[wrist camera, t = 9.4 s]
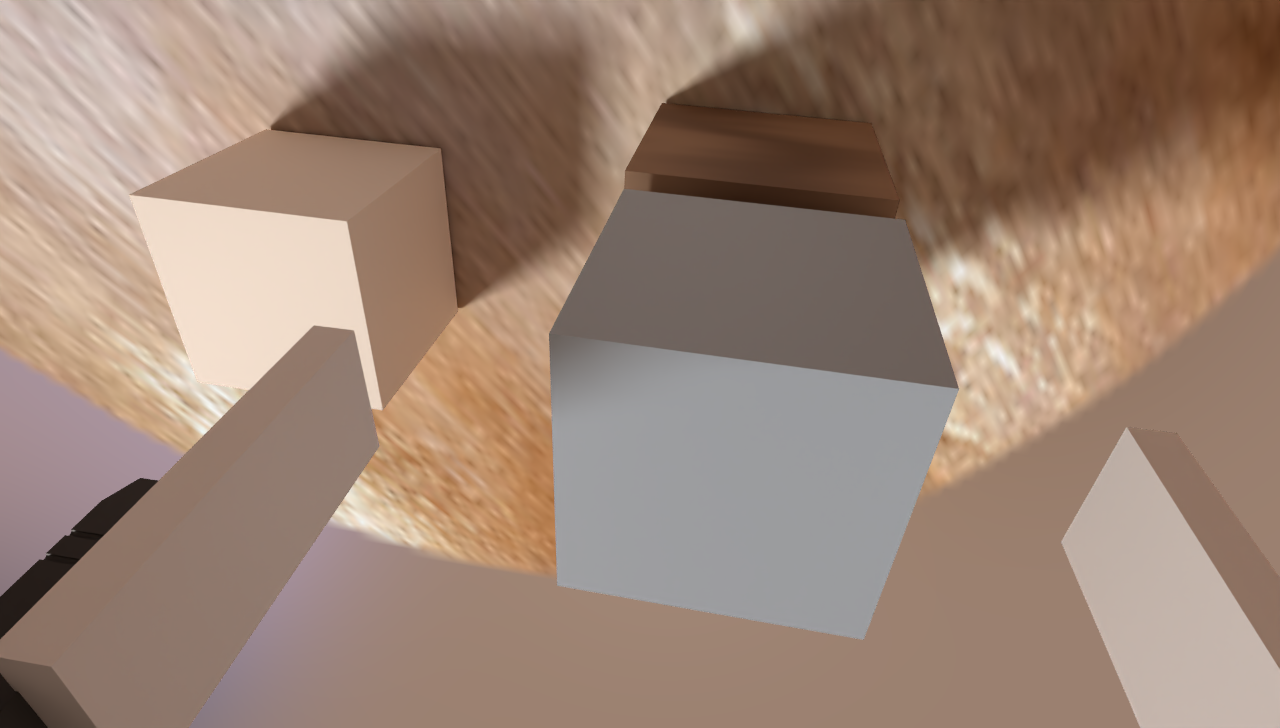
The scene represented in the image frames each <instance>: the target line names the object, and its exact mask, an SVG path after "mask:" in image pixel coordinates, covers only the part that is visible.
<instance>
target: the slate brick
mask: <svg viewBox="0 0 1280 728" xmlns="http://www.w3.org/2000/svg"><path fill="white" fill-rule="evenodd" d="M549 343H550V374H551V406H552V437H553V468H554V499H555V530H556V561H557V585H558V586H562V587H568V588H574V589H579V590H585V591H590V592H596V593H602V594H608V595H614V596H619V597H625V598H630V599H636V600H641V601H647V602H653V603H659V604H664V605H670V606H675V607H681V608H687V609H693V610H698V611H704V612H709V613H715V614H721V615H727V616H732V617H738V618H743V619H749V620H755V621H760V622H766V623H772V624H777V625H783V626H789V627H794V628H800V629H806V630H811V631H817V632H823V633H828V634H834V635H839V636H846V637H851V638H857V639H863V640H864V637H865V634H866V632H867V629H868V626H869V624H870V621H871V619H872V616H873V613H874V611H875V608H876V606H877V603H878V600H879V598H880V595H881V592H882V590H883V587H884V584H885V582H886V579H887V576H888V574H889V571H890V568H891V566H892V563H893V561H894V558H895V556H896V553H897V550H898V548H899V545H900V543H901V540H902V537H903V535H904V532H905V529H906V527H907V524H908V521H909V519H910V516H911V514H912V511H913V508H914V506H915V503H916V501H917V498H918V495H919V493H920V490H921V487H922V485H923V482H924V480H925V477H926V474H927V472H928V469H929V466H930V464H931V461H932V459H933V456H934V453H935V451H936V448H937V445H938V443H939V440H940V438H941V435H942V432H943V430H944V427H945V424H946V422H947V419H948V417H949V414H950V411H951V409H952V406H953V403H954V401H955V398H956V395H957V393H958V390H959V388H958V384H957V381H956V378H955V375H954V372H953V369H952V366H951V362H950V359H949V356H948V353H947V350H946V347H945V344H944V340H943V337H942V334H941V331H940V328H939V325H938V322H937V318H936V315H935V312H934V309H933V306H932V303H931V300H930V296H929V293H928V290H927V287H926V284H925V281H924V278H923V274H922V271H921V268H920V265H919V262H918V259H917V256H916V252H915V249H914V246H913V243H912V240H911V237H910V234H909V230H908V227H907V224H906V221H905V220H902V219H893V218H884V217H875V216H866V215H857V214H848V213H839V212H830V211H821V210H812V209H803V208H793V207H784V206H775V205H766V204H757V203H748V202H739V201H730V200H721V199H712V198H703V197H694V196H685V195H676V194H667V193H658V192H649V191H640V190H631V189H624V190H623V192H622V194H621V196H620V198H619V200H618V202H617V204H616V206H615V207H614V209H613V211H612V213H611V215H610V217H609V219H608V221H607V223H606V225H605V227H604V229H603V231H602V233H601V234H600V236H599V238H598V240H597V242H596V244H595V246H594V248H593V250H592V252H591V254H590V256H589V258H588V260H587V261H586V263H585V265H584V267H583V269H582V271H581V273H580V275H579V277H578V279H577V281H576V283H575V285H574V287H573V288H572V290H571V292H570V294H569V296H568V298H567V300H566V302H565V304H564V306H563V308H562V310H561V312H560V314H559V315H558V317H557V319H556V321H555V323H554V325H553V327H552V329H551V331H550V333H549Z"/></svg>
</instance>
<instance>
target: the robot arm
mask: <svg viewBox="0 0 1280 728" xmlns="http://www.w3.org/2000/svg"><path fill="white" fill-rule="evenodd" d="M378 447H379V442H378V437H377V433H376V428H375V424H374V419H373V414H372V410H371V405H370V401H369V396H368V392H367V387H366V382H365V378H364V373H363V369H362V364H361V359H360V355H359V350H358V346H357V341H356V337H355V332H354V330H347V329H339V328H331V327H323V326H315V325H314V326H313V327H312V328H311V329H310V330H309V331H308V332H307V333H306V334H305V335H304V336H303V337H302V338H301V339H300V340H299V341H298V342H297V343H296V344H295V345H294V346H293V347H292V348H291V349H290V350H289V351H288V352H287V353H286V354H285V355H284V356H283V357H282V358H281V359H280V360H279V361H278V362H277V363H276V364H275V365H274V366H273V367H272V368H271V369H270V370H269V371H268V372H267V373H266V374H265V375H264V376H263V377H262V378H261V379H260V380H259V381H258V382H257V383H256V384H255V385H254V386H253V387H252V388H251V389H250V390H249V391H248V392H247V393H246V394H245V395H244V396H243V397H242V398H241V399H240V400H239V401H238V402H237V403H236V404H235V405H234V406H233V407H232V408H231V409H230V410H229V411H228V412H227V413H226V414H225V415H224V416H223V417H222V418H221V419H220V420H219V421H218V422H217V423H216V424H215V425H214V426H213V427H212V428H211V429H210V430H209V431H208V432H207V433H206V434H205V435H204V436H203V437H202V438H201V439H200V440H199V441H198V442H197V443H196V444H195V445H194V446H193V447H192V448H191V449H190V450H189V451H188V452H187V453H186V454H185V455H184V456H183V457H182V458H181V459H180V460H179V461H178V462H177V463H176V464H175V465H174V466H173V467H172V468H171V469H170V470H169V471H168V472H167V473H166V474H165V475H164V476H163V477H162V478H161V479H160V480H159V481H157V480H150V479H143V478H140V479H138V480H136V481H134V482H133V483H131V484H129V485H128V486H126V487H124V488H123V489H121V490H119V491H117V492H116V493H114V494H112V495H111V496H109V497H107V498H106V499H104V500H102V501H101V502H100V503H99V504H98V505H97V506H96V507H95V508H93V509H92V510H91V511H90V512H89V513H88V514H87V515H86V516H85V517H84V518H83V519H82V520H81V521H80V522H79V523H78V524H77V525H75V527H73V528H72V529H71V534H70V535H69V536H66V535H65V536H64V537H63V538H62V539H61V540H60V541H59V542H58V543H57V544H56V545H54V546H53V547H52V548H51V549H50V550H49V551H48V552H47V553H46V558H45V559H44V560H39V561H37V562H36V563H35V564H34V565H33V566H32V567H31V568H30V569H29V570H28V571H27V572H26V573H25V574H24V575H23V576H22V577H21V578H20V579H19V580H17V581H16V582H15V583H14V584H13V585H12V586H11V587H10V588H9V589H8V590H7V591H6V592H5V593H4V594H3V595H2V596H1V597H0V728H189V726H190V725H191V723H192V722H193V720H194V719H195V718H196V716H197V714H198V713H199V712H200V710H201V709H202V707H203V706H204V704H205V703H206V701H207V700H208V698H209V697H210V695H211V694H212V692H213V691H214V689H215V688H216V686H217V685H218V684H219V682H220V681H221V679H222V678H223V676H224V675H225V673H226V672H227V670H228V669H229V667H230V666H231V664H232V663H233V661H234V660H235V658H236V657H237V655H238V654H239V653H240V651H241V649H242V648H243V647H244V645H245V643H246V642H247V641H248V639H249V638H250V636H251V635H252V633H253V632H254V630H255V629H256V627H257V626H258V624H259V623H260V622H261V620H262V618H263V617H264V616H265V614H266V613H267V611H268V610H269V608H270V607H271V605H272V604H273V602H274V601H275V599H276V598H277V596H278V595H279V593H280V592H281V591H282V589H283V587H284V586H285V584H286V583H287V582H288V580H289V579H290V577H291V576H292V574H293V573H294V571H295V570H296V568H297V567H298V565H299V564H300V562H301V561H302V560H303V558H304V557H305V555H306V554H307V552H308V551H309V549H310V548H311V546H312V545H313V543H314V542H315V540H316V539H317V537H318V536H319V534H320V533H321V531H322V530H323V528H324V527H325V526H326V524H327V523H328V521H329V520H330V518H331V517H332V515H333V514H334V512H335V511H336V509H337V508H338V506H339V505H340V503H341V502H342V500H343V499H344V498H345V496H346V495H347V493H348V492H349V490H350V489H351V487H352V486H353V484H354V483H355V481H356V480H357V478H358V477H359V475H360V474H361V472H362V471H363V469H364V468H365V466H366V465H367V464H368V462H369V461H370V459H371V458H372V456H373V455H374V453H375V452H376V450H377V449H378ZM1061 543H1062V545H1063V548H1064V550H1065V552H1066V555H1067V557H1068V559H1069V562H1070V564H1071V566H1072V569H1073V571H1074V573H1075V576H1076V578H1077V580H1078V582H1079V585H1080V587H1081V590H1082V592H1083V594H1084V597H1085V599H1086V601H1087V604H1088V606H1089V609H1090V611H1091V613H1092V616H1093V618H1094V620H1095V622H1096V625H1097V627H1098V629H1099V632H1100V634H1101V637H1102V639H1103V641H1104V644H1105V646H1106V648H1107V651H1108V653H1109V655H1110V658H1111V660H1112V662H1113V665H1114V667H1115V669H1116V672H1117V674H1118V676H1119V679H1120V681H1121V683H1122V686H1123V688H1124V690H1125V693H1126V695H1127V697H1128V700H1129V702H1130V704H1131V707H1132V709H1133V712H1134V714H1135V716H1136V719H1137V721H1138V723H1139V726H1140V728H1280V577H1279V575H1278V574H1277V573H1276V571H1275V570H1274V568H1273V567H1272V566H1271V564H1270V563H1269V561H1268V560H1267V559H1266V557H1265V556H1264V554H1263V553H1262V552H1261V550H1260V549H1259V548H1258V546H1257V545H1256V543H1255V542H1254V541H1253V539H1252V538H1251V536H1250V535H1249V533H1248V532H1247V531H1246V529H1245V528H1244V527H1243V525H1242V524H1241V522H1240V521H1239V519H1238V518H1237V517H1236V515H1235V514H1234V512H1233V511H1232V510H1231V508H1230V507H1229V505H1228V504H1227V503H1226V501H1225V500H1224V499H1223V497H1222V496H1221V494H1220V493H1219V491H1218V490H1217V488H1216V487H1215V486H1214V484H1213V483H1212V482H1211V480H1210V479H1209V477H1208V476H1207V475H1206V473H1205V472H1204V470H1203V469H1202V467H1201V466H1200V465H1199V463H1198V462H1197V461H1196V459H1195V458H1194V456H1193V455H1192V453H1191V452H1190V451H1189V449H1188V448H1187V446H1186V445H1185V444H1184V442H1183V441H1182V439H1181V438H1180V437H1179V435H1178V434H1177V433H1172V432H1164V431H1156V430H1147V429H1139V428H1132V427H1126V429H1125V431H1124V432H1123V434H1122V436H1121V438H1120V440H1119V441H1118V443H1117V445H1116V447H1115V448H1114V450H1113V452H1112V454H1111V455H1110V457H1109V459H1108V460H1107V462H1106V464H1105V466H1104V467H1103V469H1102V471H1101V473H1100V475H1099V476H1098V478H1097V480H1096V482H1095V484H1094V485H1093V487H1092V489H1091V490H1090V492H1089V494H1088V496H1087V498H1086V499H1085V501H1084V503H1083V505H1082V506H1081V508H1080V510H1079V512H1078V513H1077V515H1076V517H1075V518H1074V520H1073V522H1072V524H1071V525H1070V527H1069V529H1068V531H1067V533H1066V534H1065V536H1064V538H1063V540H1062V541H1061Z"/></svg>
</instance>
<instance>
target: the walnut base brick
mask: <svg viewBox="0 0 1280 728" xmlns="http://www.w3.org/2000/svg"><path fill="white" fill-rule="evenodd" d="M624 189H631V190H640V191H649V192H658V193H667V194H676V195H685V196H694V197H703V198H712V199H721V200H730V201H739V202H748V203H757V204H766V205H775V206H784V207H793V208H803V209H812V210H821V211H830V212H839V213H848V214H857V215H866V216H875V217H884V218H893V219H895V215H896V212H897V208H898V204H899V201H900V200H899V197H898V194H897V192H896V189H895V186H894V184H893V181H892V178H891V175H890V173H889V170H888V167H887V165H886V162H885V159H884V156H883V154H882V151H881V148H880V145H879V143H878V140H877V137H876V135H875V132H874V129H873V126H872V124H871V123H863V122H853V121H843V120H832V119H822V118H812V117H801V116H791V115H781V114H770V113H760V112H750V111H739V110H729V109H719V108H708V107H698V106H687V105H677V104H667V103H662V104H661V106H660V108H659V110H658V111H657V113H656V115H655V117H654V119H653V121H652V122H651V124H650V126H649V128H648V130H647V132H646V133H645V135H644V137H643V139H642V141H641V143H640V144H639V146H638V148H637V150H636V152H635V154H634V155H633V157H632V159H631V161H630V163H629V165H628V166H627V168H626V170H625V186H624Z"/></svg>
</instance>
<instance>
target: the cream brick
mask: <svg viewBox="0 0 1280 728" xmlns="http://www.w3.org/2000/svg"><path fill="white" fill-rule="evenodd" d="M129 196H130V199H131V202H132V204H133V207H134V210H135V213H136V215H137V218H138V221H139V224H140V226H141V229H142V232H143V235H144V237H145V240H146V243H147V246H148V248H149V251H150V254H151V256H152V259H153V262H154V265H155V267H156V270H157V273H158V276H159V278H160V281H161V284H162V287H163V289H164V292H165V295H166V298H167V300H168V303H169V306H170V308H171V311H172V314H173V317H174V319H175V322H176V325H177V328H178V330H179V333H180V336H181V339H182V341H183V344H184V347H185V350H186V352H187V355H188V358H189V360H190V363H191V366H192V369H193V371H194V374H195V377H196V380H197V382H199V383H206V384H213V385H219V386H226V387H233V388H239V389H246V390H250V389H251V388H252V387H253V386H254V385H255V384H256V383H257V382H258V381H259V380H260V379H261V378H262V377H263V376H264V375H265V374H266V373H267V372H268V371H269V370H270V369H271V368H272V367H273V366H274V365H275V364H276V363H277V362H278V361H279V360H280V359H281V358H282V357H283V356H284V355H285V354H286V353H287V352H288V351H289V350H290V349H291V348H292V347H293V346H294V345H295V344H296V343H297V342H298V341H299V340H300V339H301V338H302V337H303V336H304V335H305V334H306V333H307V332H308V331H309V330H310V329H311V328H312V327H313V326H314V325H315V326H323V327H331V328H339V329H347V330H354V332H355V337H356V341H357V346H358V350H359V355H360V359H361V364H362V369H363V373H364V378H365V382H366V387H367V392H368V396H369V401H370V405H371V409H378V410H383V409H384V408H385V407H386V405H387V404H388V403H389V401H390V400H391V399H392V397H393V396H394V395H395V393H396V392H397V391H398V390H399V388H400V387H401V386H402V384H403V383H404V382H405V380H406V379H407V378H408V376H409V375H410V374H411V372H412V371H413V370H414V368H415V367H416V366H417V365H418V363H419V362H420V361H421V359H422V358H423V357H424V355H425V354H426V353H427V351H428V350H429V349H430V347H431V346H432V345H433V343H434V342H435V341H436V340H437V338H438V337H439V336H440V334H441V333H442V332H443V330H444V329H445V328H446V326H447V325H448V324H449V322H450V321H451V320H452V318H453V317H454V316H455V314H456V313H457V312H458V307H457V298H456V288H455V279H454V269H453V260H452V250H451V241H450V231H449V221H448V212H447V202H446V193H445V183H444V174H443V164H442V155H441V148H432V147H423V146H414V145H404V144H395V143H386V142H377V141H368V140H359V139H349V138H340V137H331V136H322V135H313V134H304V133H294V132H285V131H276V130H267V129H266V130H264V131H262V132H259V133H257V134H255V135H253V136H251V137H249V138H247V139H245V140H243V141H241V142H239V143H236V144H234V145H232V146H230V147H228V148H226V149H224V150H222V151H220V152H218V153H216V154H213V155H211V156H209V157H207V158H205V159H203V160H201V161H199V162H197V163H195V164H192V165H190V166H188V167H186V168H184V169H182V170H180V171H178V172H176V173H174V174H172V175H169V176H167V177H165V178H163V179H161V180H159V181H157V182H155V183H153V184H151V185H149V186H146V187H144V188H142V189H140V190H138V191H136V192H134V193H132V194H130V195H129Z"/></svg>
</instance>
